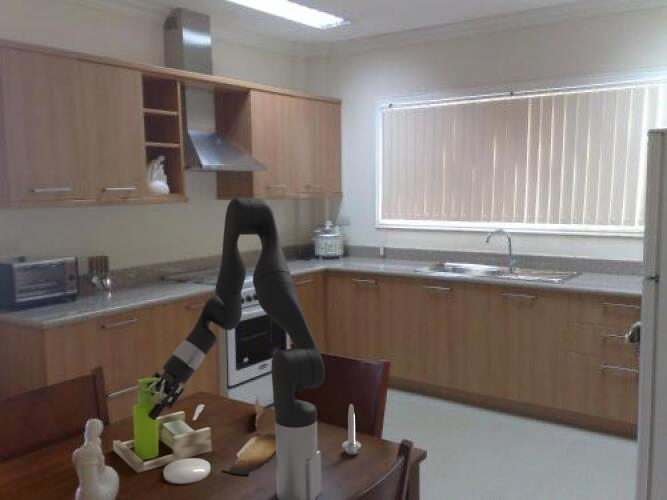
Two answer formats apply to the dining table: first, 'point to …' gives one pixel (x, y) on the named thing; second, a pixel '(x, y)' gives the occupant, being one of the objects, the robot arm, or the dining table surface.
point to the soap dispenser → (145, 423)
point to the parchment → (254, 454)
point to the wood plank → (258, 410)
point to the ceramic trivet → (186, 470)
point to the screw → (351, 434)
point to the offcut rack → (169, 443)
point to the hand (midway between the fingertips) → (144, 413)
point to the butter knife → (198, 411)
